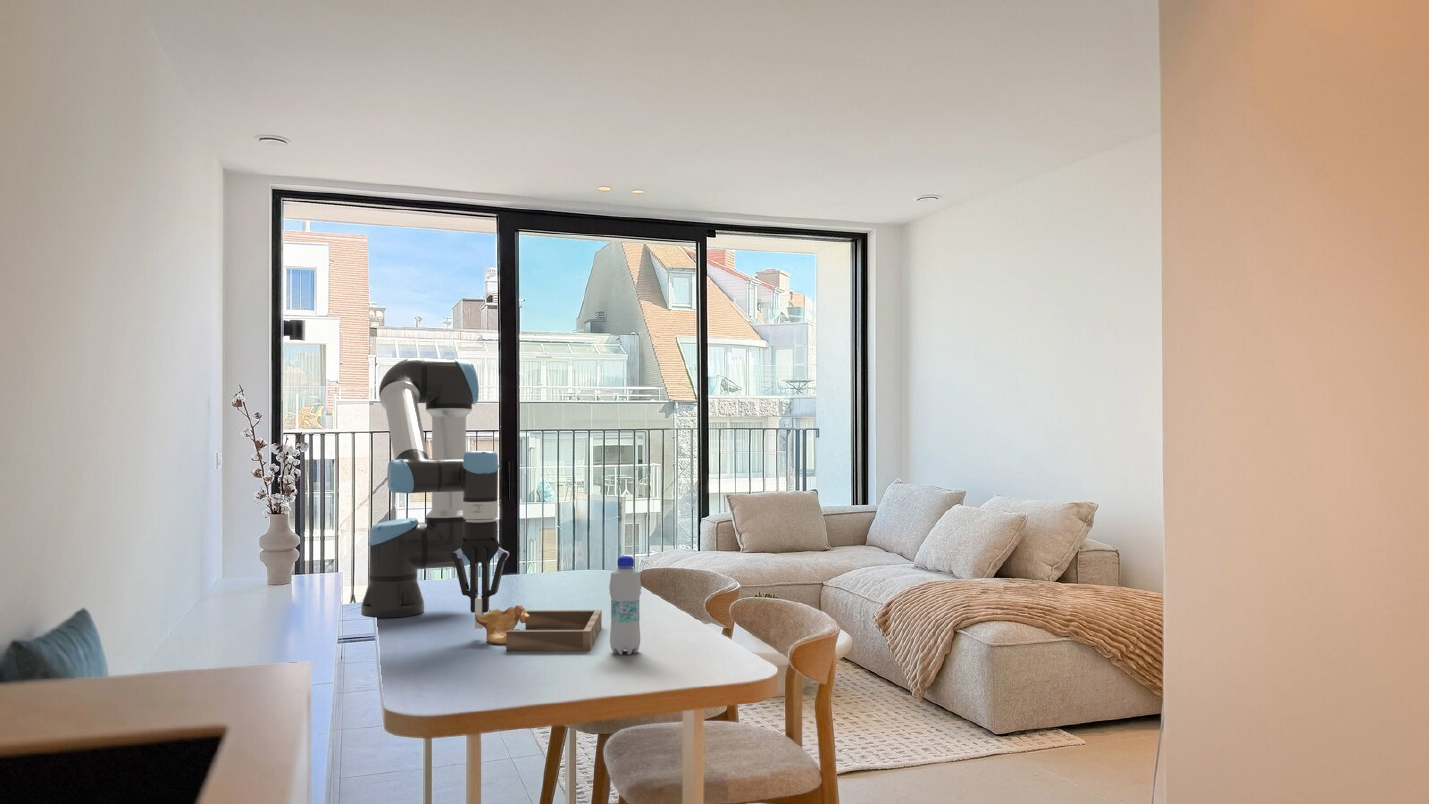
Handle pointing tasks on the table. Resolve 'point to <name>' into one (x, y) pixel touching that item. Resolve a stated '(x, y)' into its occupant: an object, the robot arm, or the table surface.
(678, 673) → the table surface
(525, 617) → the golden dog figurine
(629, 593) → the bottle
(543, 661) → the table surface
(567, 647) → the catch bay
